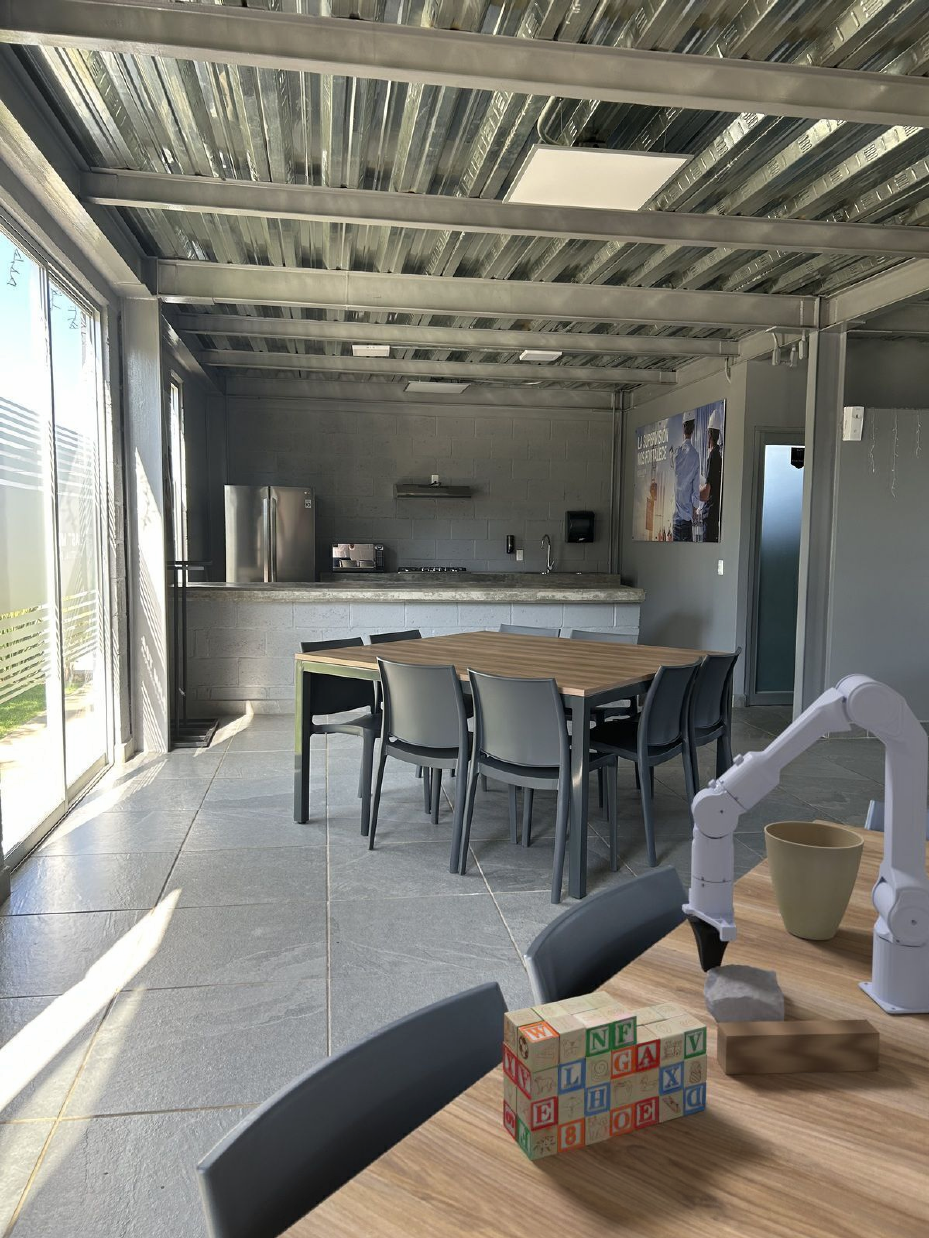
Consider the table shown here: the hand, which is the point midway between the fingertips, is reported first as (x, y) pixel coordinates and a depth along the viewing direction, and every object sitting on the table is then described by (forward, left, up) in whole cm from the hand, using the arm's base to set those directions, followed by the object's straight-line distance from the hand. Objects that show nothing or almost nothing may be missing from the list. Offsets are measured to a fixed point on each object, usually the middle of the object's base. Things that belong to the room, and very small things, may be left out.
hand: (710, 970), depth 125 cm
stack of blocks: (+22, +30, -2) cm, 37 cm away
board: (-3, +22, -1) cm, 22 cm away
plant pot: (-22, -16, -2) cm, 27 cm away
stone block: (-2, +7, -2) cm, 8 cm away
